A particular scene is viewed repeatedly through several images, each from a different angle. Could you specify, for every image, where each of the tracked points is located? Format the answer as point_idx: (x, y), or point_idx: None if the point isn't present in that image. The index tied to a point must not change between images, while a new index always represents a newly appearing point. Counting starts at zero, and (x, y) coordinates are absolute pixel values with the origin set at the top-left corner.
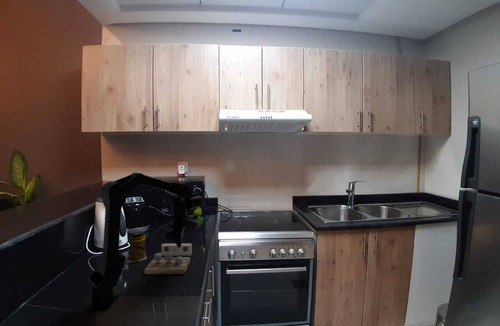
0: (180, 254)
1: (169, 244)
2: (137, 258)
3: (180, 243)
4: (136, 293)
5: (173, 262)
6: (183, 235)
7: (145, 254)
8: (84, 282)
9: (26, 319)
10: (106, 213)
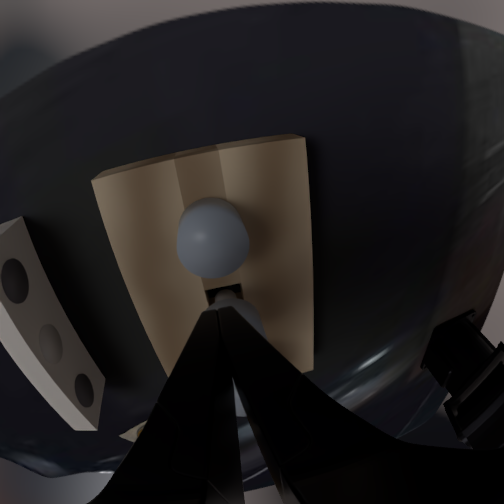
0: (48, 290)
1: (58, 402)
2: None
3: (269, 346)
4: (432, 289)
5: None
6: (143, 461)
7: (131, 429)
8: None
9: (439, 403)
10: None
